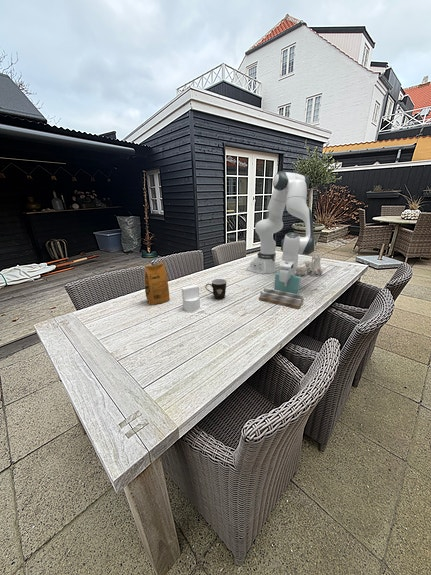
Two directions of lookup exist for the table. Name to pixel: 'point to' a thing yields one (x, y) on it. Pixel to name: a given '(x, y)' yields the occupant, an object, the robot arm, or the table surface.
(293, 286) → the door panel
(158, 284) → the coffee package
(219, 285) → the coffee mug
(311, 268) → the chinaware
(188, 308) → the base with upright slab
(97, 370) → the table surface
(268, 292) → the bottom track
